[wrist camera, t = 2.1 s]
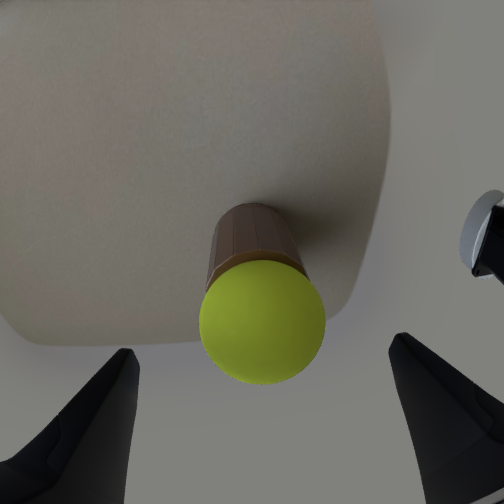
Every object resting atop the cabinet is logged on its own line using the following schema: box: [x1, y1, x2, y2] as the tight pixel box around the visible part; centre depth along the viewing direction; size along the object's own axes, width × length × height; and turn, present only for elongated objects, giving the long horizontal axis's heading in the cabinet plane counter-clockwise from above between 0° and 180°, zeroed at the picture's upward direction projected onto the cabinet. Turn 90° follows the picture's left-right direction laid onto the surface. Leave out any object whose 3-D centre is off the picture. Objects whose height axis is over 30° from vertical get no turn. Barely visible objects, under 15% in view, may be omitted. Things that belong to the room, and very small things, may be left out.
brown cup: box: [206, 203, 310, 293], centre depth 13 cm, size 4×4×5 cm
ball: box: [199, 260, 325, 384], centre depth 10 cm, size 4×4×4 cm
